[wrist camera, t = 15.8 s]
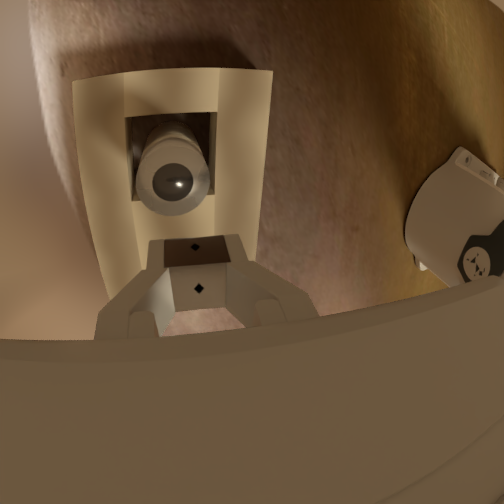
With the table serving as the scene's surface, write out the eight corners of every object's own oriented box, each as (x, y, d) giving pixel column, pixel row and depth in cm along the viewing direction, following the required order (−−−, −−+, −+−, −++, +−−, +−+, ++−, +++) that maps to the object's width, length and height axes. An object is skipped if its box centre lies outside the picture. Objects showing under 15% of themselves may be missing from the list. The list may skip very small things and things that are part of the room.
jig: (258, 70, 19) (273, 71, 17) (243, 262, 30) (252, 284, 27) (86, 79, 16) (71, 81, 13) (113, 274, 26) (109, 299, 23)
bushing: (196, 119, 21) (211, 144, 14) (196, 168, 23) (209, 213, 16) (144, 122, 19) (132, 149, 13) (146, 171, 22) (139, 219, 15)
